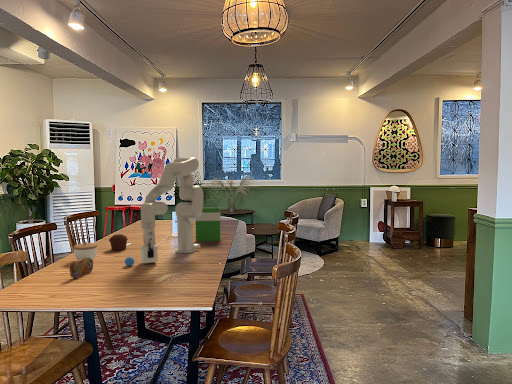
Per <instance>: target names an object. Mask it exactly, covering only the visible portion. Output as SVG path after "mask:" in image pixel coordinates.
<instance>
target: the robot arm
mask: <svg viewBox="0 0 512 384" xmlns="http://www.w3.org/2000/svg"><path fill="white" fill-rule="evenodd" d="M199 166H200V164H199V160H198V159H197V158H196V157H177V158H174V160H173V162H168V163H166V164H165V166H164V168H163V171H162V173H161V176H160V179H159V181H158V184H156V185H155V186H154V187H153V188H152V189H151V190H150V191H149V192H148V194H147V195H146V197H145V199H144V202H143V203H141V204H140V218H141V219H140V225H141V227H140V228H141V229H143V230H142V233H143V234H142V239H143V245H146V246H148V258H153V257H154V248H153V245H154V246H155V245H157V244H156V233H155V228H156V216H162V215H165V214H166V213H167V212H168V210H169V207H168V205H167V204H166V202H164V201H157V199H158V198H159V197H160V196H162V195H164V194H166V193H168V192H170V191H171V190H173V188H174V184H175V182H176V179H177V178H178V177H179V194H178V196H179V199H181V200H183V201H181V202H179V203H177V204H176V205H175V209H174V210H175V215H176V216H175V217H176V221H177V224H176V225H177V230H176V231H177V248H176V249H175V250H174V251H175V253H177V254H190V253H194V252H196V248H200V247H201V244H197V243H194V238H193V236H194V233H193V229H194V228H193V221H192V219H196V218H198V217H200V216H201V214H202V208H203V207H204V190H203V188H202V187H201V186H200V185H194V175H193V173H194V172H196V171H198V169H199ZM185 201H187V202H185ZM188 201H191V202H188ZM149 247H150V248H149Z"/></svg>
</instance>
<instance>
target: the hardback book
mask: <svg viewBox="0 0 512 384" xmlns="http://www.w3.org/2000/svg"><path fill="white" fill-rule="evenodd" d="M221 229H222V227H221V207H220V206H216V207H215V206H214V207H213V206H211V207H208V206H206V207H205V206H203V208H202V214H201V216H200V217H198V218H195V242H221V240H220V239H221V238H222V237H221V233H222V232H221Z"/></svg>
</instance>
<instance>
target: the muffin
mask: <svg viewBox="0 0 512 384" xmlns="http://www.w3.org/2000/svg"><path fill="white" fill-rule="evenodd" d="M108 241H109V242H110V247H111V251H113V252H122V251H126V249H127V243H128V237H127V236H126V235H124V234H122V233H120V234H119V233H118V234H114V235H112V236H110V237H109V240H108Z"/></svg>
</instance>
